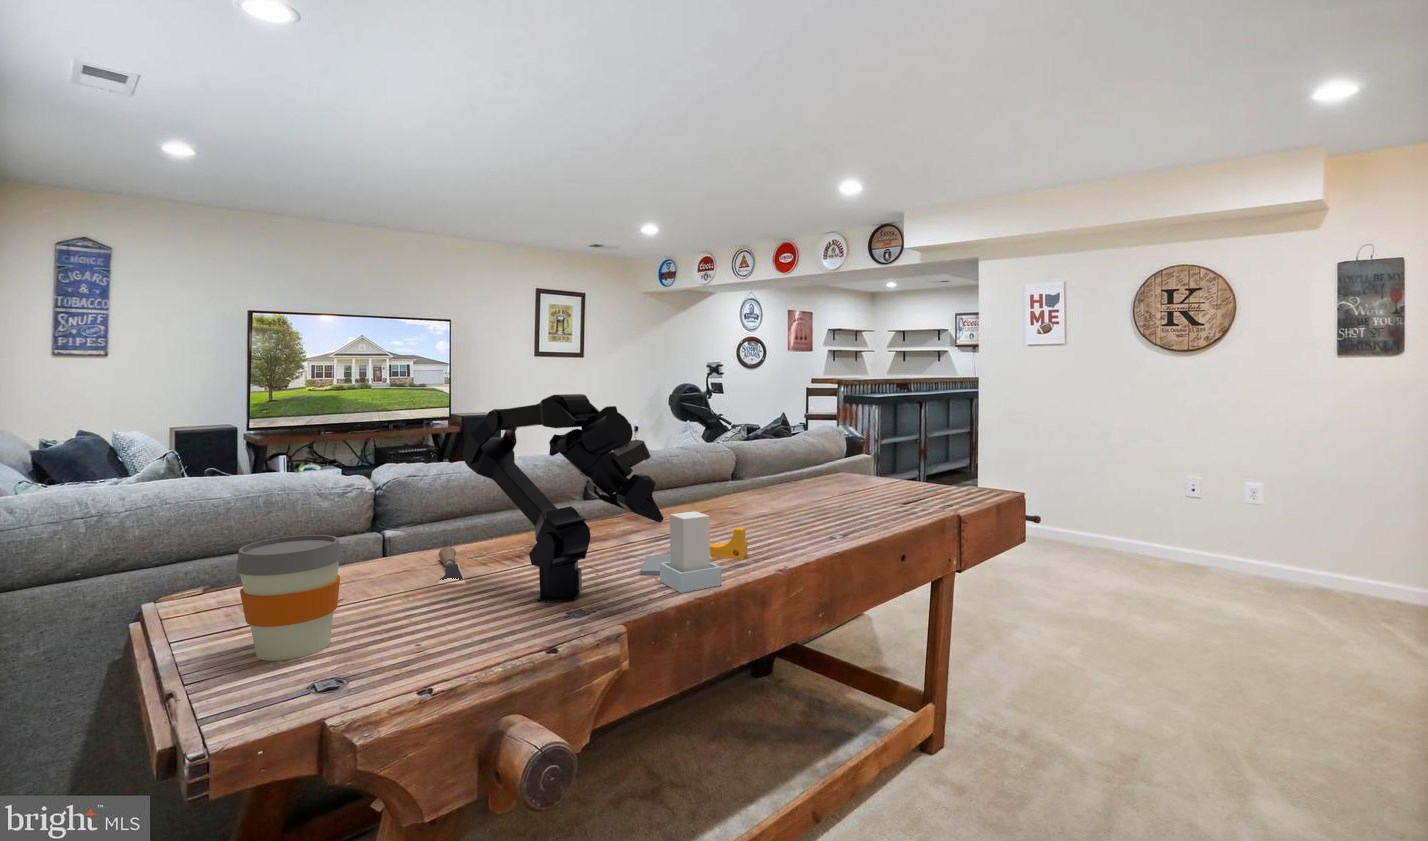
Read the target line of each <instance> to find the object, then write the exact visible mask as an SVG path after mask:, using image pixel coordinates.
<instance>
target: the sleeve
mask: <svg viewBox="0 0 1428 841" xmlns="http://www.w3.org/2000/svg"><path fill="white" fill-rule="evenodd" d="M659 582H661V583H662V584H664V585H665V586H668V587H669V588H671V589H673V590H675V591H677V592H678V593H680V594H682V593H683V594H684V593H689V592H693V590H695V591H698V590H699V589H700V590H704V588H706V589H710V587H711V588H715V587H714V586H716V587H720V585H721V586H722V566H720V565H718V564H715V563H713V562H711V561H710V568H707V569H701V570H695V571H689V572H683V573H681V572H679V571H677V570H675V569H673V568H671V565H670V562H665V563H660V575H659ZM700 590H699V591H700Z"/></svg>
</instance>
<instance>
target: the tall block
mask: <svg viewBox="0 0 1428 841" xmlns="http://www.w3.org/2000/svg"><path fill="white" fill-rule="evenodd" d="M710 517H711V516H710V515H707V514H705V513H702V512H698V511H688V512H679V513H671V514H669V542H670V543H669V550H670V553H669V554H670V565H671V568H673V569H675V570H677V571H679V572H681V573H683V572H689V571H695V570H701V569H707V568H710V562H711V557H710V542H711V526H710V525H711V524H710V523H711V521H710V520H711V518H710Z"/></svg>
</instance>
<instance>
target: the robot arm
mask: <svg viewBox="0 0 1428 841" xmlns="http://www.w3.org/2000/svg"><path fill="white" fill-rule="evenodd" d="M534 426H535V427H536V426H543V427H545V428H550V429H566V428H574V429H571V430H570V431H568V432H566V433H564V434H556V433H555V434H553V436H552V437H551V438H550V440H549V442H548V443H549V453H548V454H549V456H550V457H554V456H556V455H558V454H561V456H562V457H563V458H565V459H566V460H567V461H568V462H569V463H570V464H571V465H572V466H573V467H574V468H575V469H576V470H578V471H579V476H581V477H582V478H583V479H585V480H588V481H589V482H588V483H587V492H589V493H590V494H591V496H593V497H594V498H596V499H598V500H600V501H602V502H605V503H608V504H610V505H613V506H616V507H618V508H621V509H623V510H625V511H628V512H631V513H633V514H636V515H639V516H641V517H643V518H646V519H649V520H652V521H653V522H656V523H659V524H660V523H662V522H663V520H664V518H665V517H664V515H663V514H662V512H661V510H660V508H659V507H658V505H657V503H656V501H655V499H654V497H653V493H654V491H655V488H656V485H657V482H656V481H654V480H653V478H652V477H651V476H650V475H647V474H643V473H634V474H632V473H633V472H634V469H632V468H633V467H635V466H636V465H638V464H640V463H642V462H644V461H648V460H649V459H650V458H651V454H650V452H649V449H648V447H647V445H646V442H645V440H641V439H634V440H633V427H632V425H631V423H630V422H629V420H628V419H627V418H626V417H625V416H624V415H623V414H622V413H620V412H618V408H617V406H613V405H612V406H610V405H609V406H605V407H603V408H602V409H601V410H599V409H598V408H597V407H595V406H594V405H593V403H592V402H590V400H589V398H588V396H587V395H586V394H583V393H578V394H576V393H575V394H573V393H571V394H552V395H550V396H548V397H545V398H543V399H541V401H540V402H539V403H536V404H532V405H524V406H518V407H511V408H495V409H492V410H490V411H488V413H486V416H485V419H484V421H482V422H481V423H480V424H479V425H478V426H477V427H476V428H475V429H474V430H472V431H471V432H470V434H469V436H468V438H467V440H466V443H465V444H464V447H463V449H462V460H464V463H465V465H466V466H467V467H468V468H469V469H470V470H472V471H473V472H474V473H475V474H477V475H479V476H482V477H485V478H487V479H490V480H492V481H493V482H494V483H495V484H496V485H497V486H498V487H499V488H500V489H501V491H503V493H504V494H506V496H507V497H508V498H509V499H510V500H511V501H512V502H513V504H514V505H515V506H516V507H517V508H518V509H519V510H520V511H521V513H522V514H523V515H524V516H525V517H526V518H527V520H529V522H530V523H531V524H532V525H533V526H534V529H535V530H534V531H535V537H534V538H535V542H536V543H535V545H534V546H533V547H532V549H531V550H530V552H529V553H528V556H529V560H530V563H531V564H530V565H532V566H534V567H538V568H539V570H538V571H539V572H538V574H539V577H538V578H539V596H538V597H537V598H536V600H537V602H540V603H541V602H543V603H544V602H545V603H547V602H575V601H576V600H577V597H578V596H579V595H580V593H581V592H582V591H583V585H582V584H583V582H582V576H583V574H582V571H583V570H582V568H581V567H579V561H580V560H585V559H586V556H587V553H588V550H589V545H590V543H591V542H590V541H591V537H592V536H591V530H590V528H589V526H588V525H587V523H586V520H587V519H586V518H585V517H583V516H581V515H580V514H579V512H578V511H577V510H576V508H574V507H573V506H565V507H560V508H558V507H556V505H555V504H553V502H552V501H551V500H550V499H549V498H548V497H547V496H546V495H545V494H544V492H542V491H541V490H540V488H538V486H537V485H536V484H535V483H534V482H533V481H532V480H531V479H530V477H528V476H527V475H526V474H525V473H524V472H523V470H522V469H521V468H520V467H519V466H518V465H517V464H516V463H515V462H516V461H515V460H516V459H515V451H514V449H515V447H516V445H517V436H516V435H517V434H516V432H517V429H518V428H524V427H525V428H526V427H534ZM579 428H581V429H579ZM497 431H505V432H504V434H503V435H502V436H497V437H494V435H495V434H496V433H497ZM631 474H632V475H631ZM630 475H631V476H630ZM628 476H630V478H628Z"/></svg>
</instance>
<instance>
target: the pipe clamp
mask: <svg viewBox="0 0 1428 841" xmlns="http://www.w3.org/2000/svg"><path fill="white" fill-rule="evenodd" d="M747 555H748V540H746V528H745V527H739V526H738V527H735V528H734V529H733V534H732V537H731V539H730V540H729V541H726V542H718V543H717V544H716V543H713V542H711V541H710V556H711V557H710V558H714V557H728V558H727V559H731V558H743V559H745V557H746V556H747Z"/></svg>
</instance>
